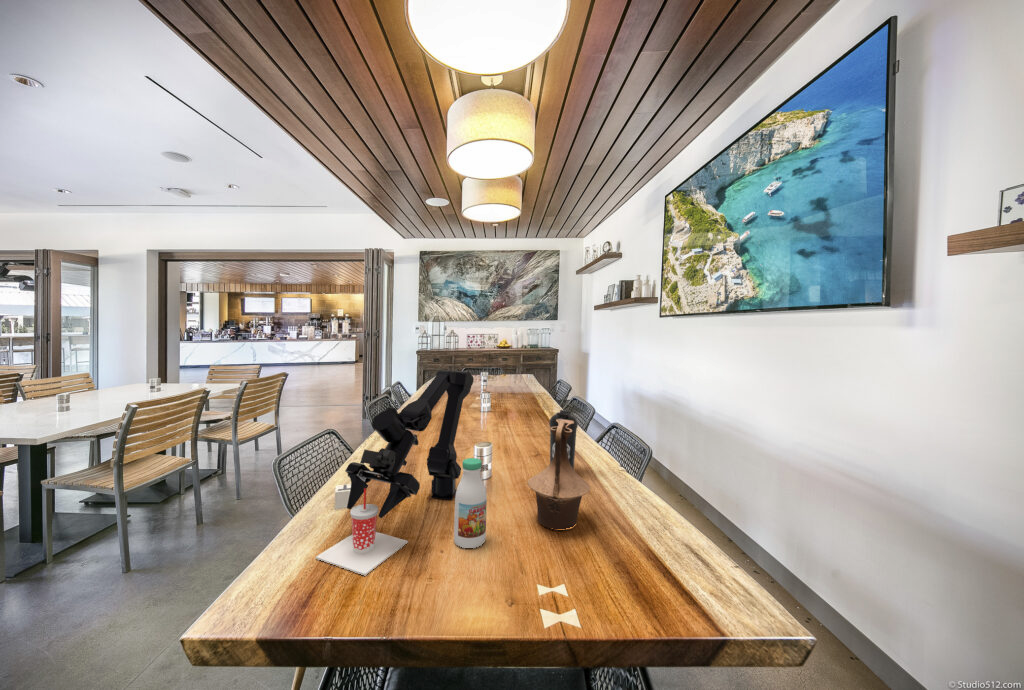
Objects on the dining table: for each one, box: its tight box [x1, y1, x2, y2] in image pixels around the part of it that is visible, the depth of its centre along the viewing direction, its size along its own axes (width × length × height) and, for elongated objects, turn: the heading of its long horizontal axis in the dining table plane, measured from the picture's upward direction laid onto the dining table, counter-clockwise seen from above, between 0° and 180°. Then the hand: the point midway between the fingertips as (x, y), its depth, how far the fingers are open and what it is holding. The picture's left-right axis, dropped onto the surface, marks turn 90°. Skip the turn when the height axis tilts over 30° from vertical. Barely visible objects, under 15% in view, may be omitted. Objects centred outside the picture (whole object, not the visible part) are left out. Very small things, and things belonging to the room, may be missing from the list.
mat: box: [315, 531, 409, 577], centre depth 89 cm, size 14×14×1 cm
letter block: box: [334, 483, 355, 511], centre depth 112 cm, size 5×5×5 cm
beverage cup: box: [350, 488, 380, 554], centre depth 89 cm, size 6×6×14 cm
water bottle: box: [548, 409, 579, 471], centre depth 141 cm, size 10×10×23 cm
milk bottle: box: [453, 457, 488, 549], centre depth 95 cm, size 8×8×20 cm
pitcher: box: [527, 419, 591, 529], centre depth 106 cm, size 18×17×28 cm
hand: (363, 513), depth 89 cm, fingers open, 9 cm apart
